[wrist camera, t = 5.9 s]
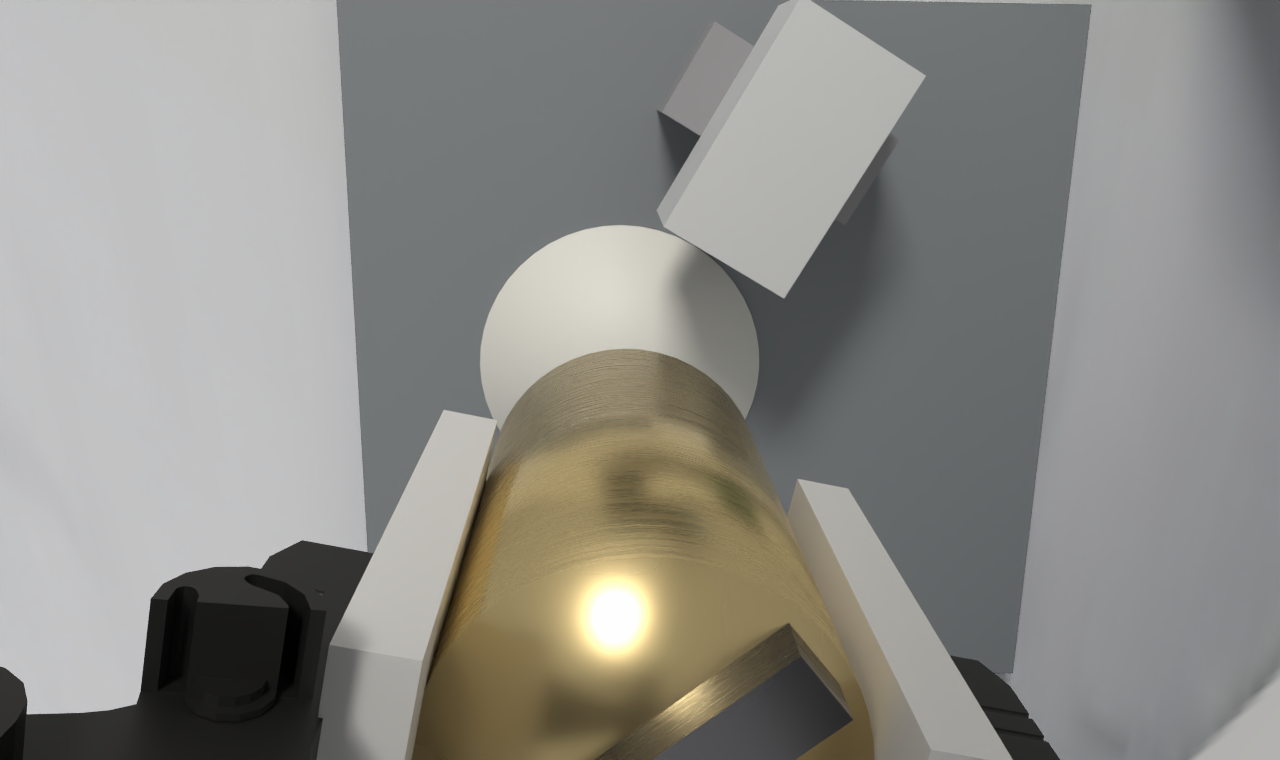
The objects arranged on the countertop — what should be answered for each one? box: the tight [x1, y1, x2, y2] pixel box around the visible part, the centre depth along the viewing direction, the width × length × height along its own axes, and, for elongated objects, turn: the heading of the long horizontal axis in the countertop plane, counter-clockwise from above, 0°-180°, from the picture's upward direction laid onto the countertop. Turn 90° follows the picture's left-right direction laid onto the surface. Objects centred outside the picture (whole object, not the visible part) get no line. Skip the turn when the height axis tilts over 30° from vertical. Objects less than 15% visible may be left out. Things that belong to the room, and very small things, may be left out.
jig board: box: [337, 0, 1091, 673], centre depth 23 cm, size 16×16×6 cm
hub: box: [412, 349, 874, 760], centre depth 14 cm, size 4×4×9 cm
